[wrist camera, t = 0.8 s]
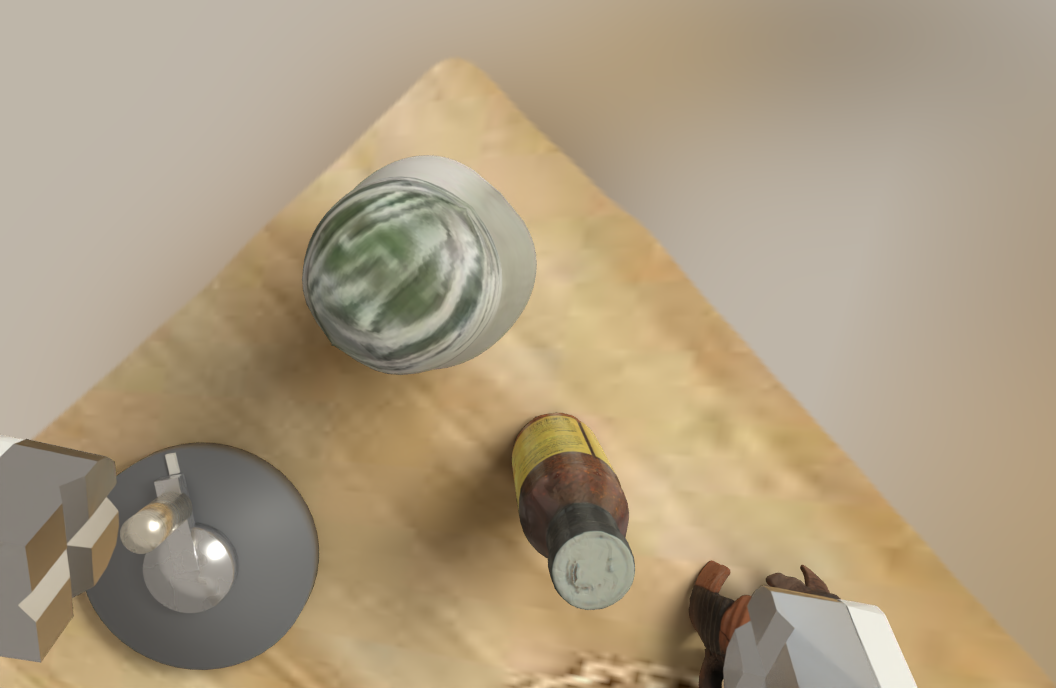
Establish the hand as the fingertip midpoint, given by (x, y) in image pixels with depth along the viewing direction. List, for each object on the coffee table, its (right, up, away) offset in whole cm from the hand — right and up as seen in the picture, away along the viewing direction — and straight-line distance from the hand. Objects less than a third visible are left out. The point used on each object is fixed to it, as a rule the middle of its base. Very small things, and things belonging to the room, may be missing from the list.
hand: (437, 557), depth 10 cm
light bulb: (-22, -11, +45) cm, 51 cm away
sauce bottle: (+3, -5, +47) cm, 47 cm away
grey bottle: (-4, +9, +45) cm, 46 cm away
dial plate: (-22, -12, +47) cm, 53 cm away
